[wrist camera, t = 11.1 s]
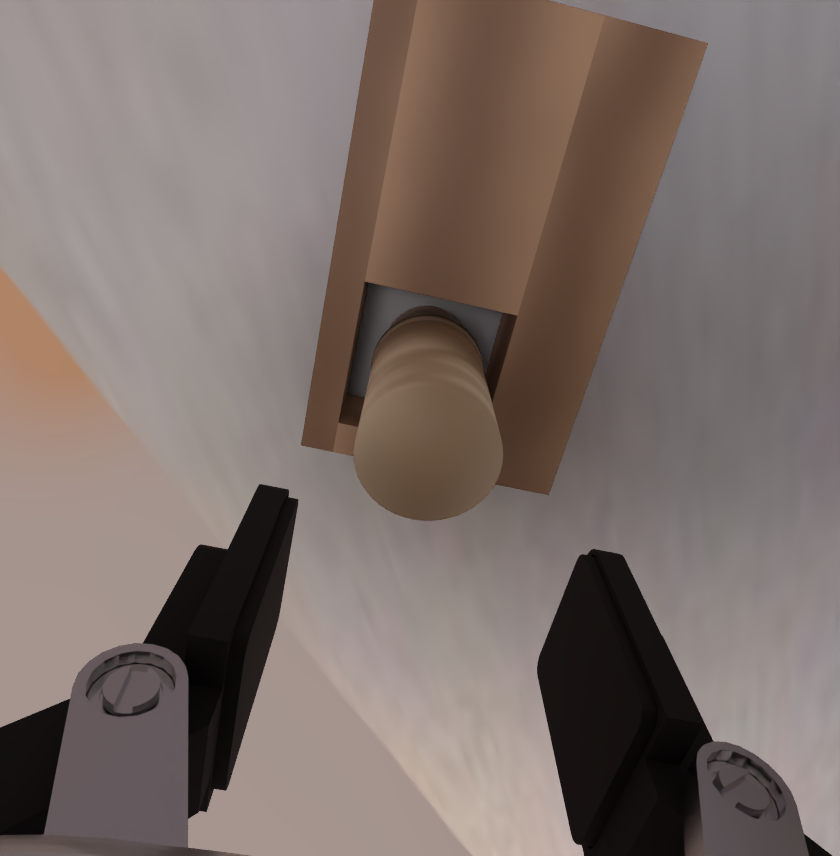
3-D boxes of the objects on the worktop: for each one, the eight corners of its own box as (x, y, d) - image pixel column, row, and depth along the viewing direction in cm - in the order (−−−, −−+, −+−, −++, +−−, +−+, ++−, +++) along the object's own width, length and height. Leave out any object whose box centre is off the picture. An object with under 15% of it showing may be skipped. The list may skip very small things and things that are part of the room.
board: (672, 55, 22) (708, 42, 19) (536, 460, 28) (548, 494, 26) (386, -21, 21) (381, -46, 18) (313, 414, 27) (300, 445, 25)
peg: (487, 309, 26) (523, 403, 16) (462, 402, 27) (482, 534, 18) (387, 286, 25) (367, 370, 16) (368, 382, 27) (340, 506, 18)
